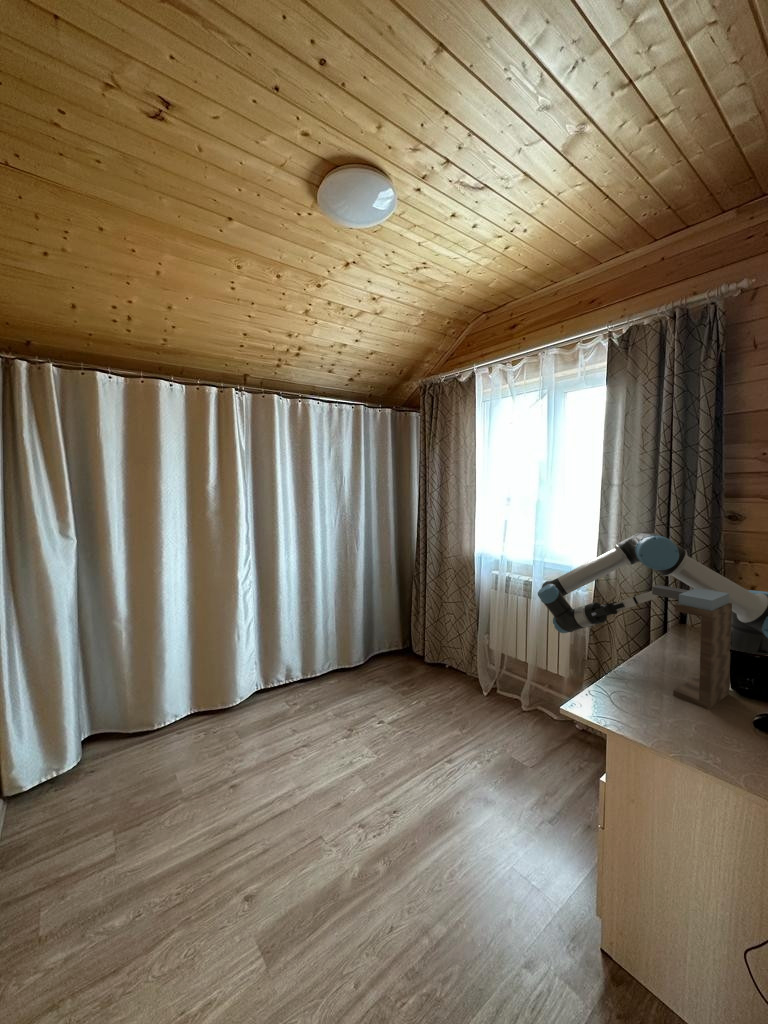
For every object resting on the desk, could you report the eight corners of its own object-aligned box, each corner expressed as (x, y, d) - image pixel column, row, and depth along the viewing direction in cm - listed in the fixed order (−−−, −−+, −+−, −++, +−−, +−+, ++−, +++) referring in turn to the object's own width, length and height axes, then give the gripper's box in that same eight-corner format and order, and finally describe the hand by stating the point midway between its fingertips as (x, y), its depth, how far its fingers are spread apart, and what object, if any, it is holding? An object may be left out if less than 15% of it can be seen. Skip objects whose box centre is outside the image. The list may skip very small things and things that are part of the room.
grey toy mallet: (664, 591, 132) (664, 582, 132) (728, 603, 118) (728, 593, 118) (645, 597, 126) (646, 587, 126) (711, 611, 112) (712, 600, 112)
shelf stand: (693, 681, 128) (695, 596, 126) (728, 694, 120) (732, 603, 118) (673, 695, 120) (675, 604, 118) (709, 709, 113) (712, 612, 111)
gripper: (614, 617, 153) (669, 601, 137) (575, 632, 140) (630, 616, 124) (604, 599, 156) (657, 581, 140) (565, 611, 143) (618, 593, 127)
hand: (644, 597), depth 132 cm, fingers open, 13 cm apart
